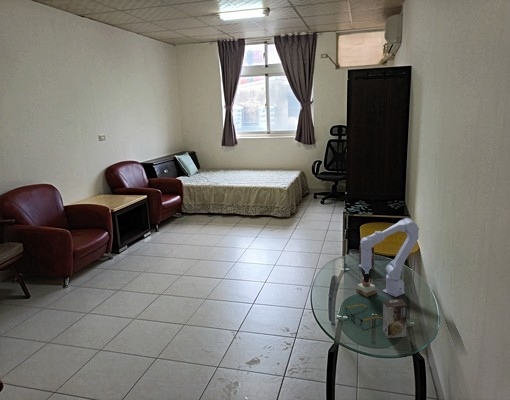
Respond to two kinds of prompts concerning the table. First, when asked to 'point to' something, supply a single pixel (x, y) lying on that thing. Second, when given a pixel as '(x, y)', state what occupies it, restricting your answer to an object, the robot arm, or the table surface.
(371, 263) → the supplement box
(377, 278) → the table surface
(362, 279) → the salmon pink cylinder
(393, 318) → the coffee box
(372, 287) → the sage top slab
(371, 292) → the walnut base slab
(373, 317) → the eyeglasses
